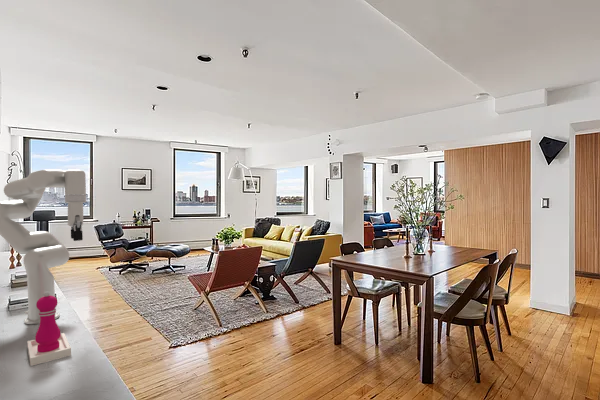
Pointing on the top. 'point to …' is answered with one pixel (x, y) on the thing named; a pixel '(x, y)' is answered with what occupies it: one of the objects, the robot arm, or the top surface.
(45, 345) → the pepper mill
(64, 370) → the top surface
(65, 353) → the tray
